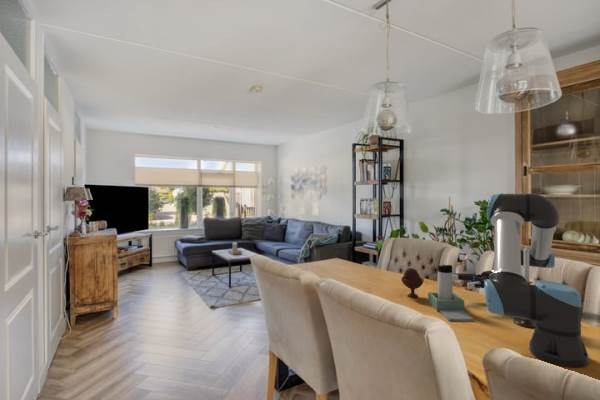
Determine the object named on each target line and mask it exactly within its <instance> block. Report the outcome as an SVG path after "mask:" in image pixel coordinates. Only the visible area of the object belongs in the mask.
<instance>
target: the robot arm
mask: <svg viewBox="0 0 600 400" xmlns="http://www.w3.org/2000/svg"><path fill="white" fill-rule="evenodd" d="M487 203H488V204H487V209H486V219H487V221H489V222H490V223H491V225H492V226H493V227H494V243H493V246H494V247H493V251H494V252H493V269H491V270H484V271H483V272H481V273H480V274H476V273H459V272H458V273H457V272H455V273H454V274H452V282H453V281H454V282H455V281H456V282H458V281H459V280H460V281H461V280H462V281H470V282H467V283H466V284H467V286H466V287H467V288H466V289H467V290H473V289H480V288H481V289H484V293H485V301H486V308H487V311H488V312H489V313H490V314H494V315H497V316H498V315H499V316H501V317H510V318H522V319H528V320H535V321H536V327H535V328H534V331H533V333H532V335H531V338H530V340H529V343H528V348H529V349H528V350H529V352H530V353H531V354H532V355H533V356H535V357H537V358H538V357H539V359H541V360H542V359H543V361H545V362H548V363H550V364H554V365H557V366H561V367H562V366H563V367H570V368H583V367H586V366H587V365H589V354H588V351H587V349H586V345H585V343H584V341H583V339H582V307H583V304H582V297H581V294H580V292H579V291H578V290H577V289H576V288H574V287H571V286H569V285H566V284H563V283H560V282H555V281H549V280H541V279H539V280H538V279H537V280H536V281H535V283H534V284H531V283H530V284H527V281H526V278H525V277H524V275H523V274H522V267H524V249H521V228H522V227H523V226H524V224H525V223H531V225H532V228H531V238H530V239H531V241H530V249H529V267H534V268H535V267H536V268H542V269H545V268H546V269H553V268H555V263H556V259H555V258H556V257H555V253H554V252H552V244H553V238H554V233H555V228H556V227H557V226H558V224H559V221H560V213H559V209H558V208H557V206H556V205H555V204H554V202H552V201H551V200H550V199H548V198H547V197H545V196H543V195H541V194H537V193H497V194H495V193H493V194H491V196H490V197H489V199H488V202H487Z"/></svg>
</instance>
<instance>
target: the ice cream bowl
mask: <svg viewBox="0 0 600 400" xmlns="http://www.w3.org/2000/svg"><path fill="white" fill-rule="evenodd" d="M404 271H405V272H403V276H402V277H401V282H402V284H403V285H404V286H405V287H407V288H408V289H410V293H408V294H407V298H410V299H418V298H419V295H418V294H416V293H415V290H417V289H419V288H420V287H421V286H422V285H423V283H424V280H425V278H423V277H421V276H420V274H419V272H418V271H417V270H416V269H415V268H414V267H408V268H406V270H404Z"/></svg>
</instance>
